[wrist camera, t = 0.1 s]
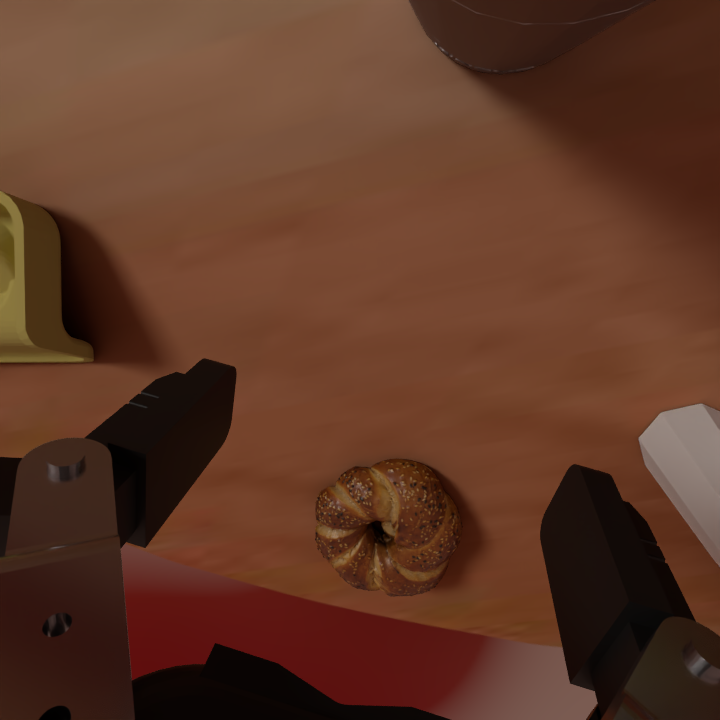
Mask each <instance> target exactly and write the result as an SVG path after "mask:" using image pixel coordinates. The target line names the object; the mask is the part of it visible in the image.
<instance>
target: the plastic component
mask: <svg viewBox="0 0 720 720" xmlns="http://www.w3.org/2000/svg"><path fill="white" fill-rule="evenodd" d="M92 361H94V351H93V348H92V346H91V345H90V344H89V343H87V342H85V341H83V340H79V339H76V338H72V337H70V336H69V335H68V334H67V332H66V330H65V329H64V326H63V322H62V303H61V240H60V233H59V230H58V227H57V224H56V223H55V221H54V220H53V218H52V217H51V216H50V214H49V213H48V212H47V211H45V210H44V209H43V208H41V207H40V206H38V205H36V204H33V203H31V202H28V201H26V200H23V199H20V198H18V197H15V196H13V195H10V194H7V193H5V192H2V191H0V363H80V362H92Z"/></svg>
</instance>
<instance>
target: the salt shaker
mask: <svg viewBox="0 0 720 720" xmlns="http://www.w3.org/2000/svg"><path fill="white" fill-rule="evenodd" d="M638 439H639V443H640V447H641V451H642V455H643V459H644V463H645V466H646V467H647V468H648V470H649V471H650V473H651V474H652V475H653V477H654V478H655V479H656V481H657V482H658V484H659V485H660V486H661V488H662V489H663V491H664V492H665V493H666V495H667V496H668V497H669V499H670V500H671V502H672V503H673V504H674V506H675V507H676V508H677V510H678V511H679V513H680V514H681V515H682V517H683V518H684V520H685V521H686V522H687V524H688V525H689V526H690V528H691V529H692V531H693V532H694V533H695V535H696V536H697V537H698V539H699V540H700V542H701V543H702V544H703V546H704V547H705V549H706V550H707V551H708V553H709V554H710V555H711V557H712V558H713V559H714V561H715V562H716V563H717V564H718V566H719V567H720V411H718V410H716V409H713V408H711V407H709V406H706V405H704V404H696V405H692V406H687V407H683V408H678V409H674V410H669V411H665V412H661V413H660V414H659V415H658V416H657V418H656V419H655V420H654V421H653V422H652V423H651V425H650V426H649V427H648V428H647V429H646V430H645V431H644V433H643V434H642V435H641V436H640V437H639V438H638Z"/></svg>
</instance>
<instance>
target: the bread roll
mask: <svg viewBox="0 0 720 720" xmlns="http://www.w3.org/2000/svg"><path fill="white" fill-rule="evenodd" d="M315 504H316V520H317V522H318V523H319V525H318V526H316V539H315V541H316V544H317V547H318V550H319V551H320V552H321V553H322V554H323V557H325V558H326V559H327V560H328V561H329V562H330V564H331V565H332V567H333V568H335V570H336V571H337V572H338V574H339V575H340V577H342V578H343V579H344V580H345V581H346V582H347V583H349V584H350V585H351V586H353V587H355V588H357V589H363V590H368V591H375V590H380V589H381V590H382V591H384V592H385V593H386V594H387V595H389V596H413V595H416V594H420V593H421V594H423V593H424V592H427V591H430V589H432V588H433V587H435V586H436V585H437V584H438V582H439V581H440V580H441V579H442V577H443V575H444V574H445V571H446V569H447V567H448V563H449V558H450V556H451V555H452V554H453V552H454V550H455V549H456V548H457V546H458V544H459V542H460V538H461V533H462V527H463V526H462V522H461V519H460V514H459V512H458V508H457V507H456V506H455V504H454V502H453V501H452V499H451V497H450V496H449V495H448V494H447V493H445V492H444V490H443V487H442V485H441V483H440V481H439V480H438V478H437V477H436V475H435V474H434V473H433V472H432V471H431V470H430V469H429V468H428V467H426V466H425V465H423V464H420V463H418V462H415V461H411V460H405V459H389V460H385V461H382V462H379V463H377V464H375V465H373V466H372V467H371V468H365V467H353V468H352V469H349V470H347V471H346V472H345V473H343V474H342V475H341V477H340V478H339V480H338V481H337V484H336V486H335V487H333V486H329V487H327V488H326V489H324V490H323V491H321V492H320V493H319V495H318V497H317V501H316V502H315ZM377 520H378V521H380V522H381V526H382V528H383V530H384V533H383V534H380V533H379V532H378V531H377V530H375V529H374V528H373V527H372V524H371V523H372V522H374V521H377Z"/></svg>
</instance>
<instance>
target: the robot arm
mask: <svg viewBox="0 0 720 720" xmlns="http://www.w3.org/2000/svg"><path fill="white" fill-rule="evenodd" d="M653 1H655V0H409V2H410V4H411V6H412V8H413V10H414V12H415V14H416V16H417V18H418V20H419V22H420V23H421V25H422V27H423V29H424V31H425V33H426V34H427V36H428V37H429V38H430V39H431V40H432V41H433V43H434V44H435V45H436V46H437V47H438V48H439V50H440V51H441V52H443V53H444V54H445V55H447V56H448V57H450V58H451V59H452V60H454V61H455V62H457V63H458V64H460V65H463V66H465V67H468V68H470V69H473V70H475V71H478V72H485V73H493V74H507V73H515V72H523V71H526V70H528V69H532V68H534V67H537V66H540V65H543V64H545V63H547V62H549V61H551V60H552V59H554V58H556V57H558V56H559V55H561V54H563V53H565V52H567V51H569V50H571V49H573V48H574V47H576V46H578V45H580V44H581V43H583V42H585V41H586V40H588V39H590V38H592V37H593V36H595V35H597V34H598V33H600V32H602V31H604V30H605V29H607V28H609V27H610V26H612V25H614V24H616V23H617V22H619V21H621V20H622V19H624V18H626V17H628V16H629V15H631V14H633V13H634V12H636V11H638V10H640V9H641V8H643V7H645V6H646V5H648V4H650V3H652V2H653ZM235 384H236V368H235V367H234V366H230V365H227V364H223V363H220V362H216V361H212V360H209V359H202V360H200V361H199V362H198V363H197V364H196V365H195V366H194V367H192V368H191V369H190V370H189V371H188V372H187V373H186V374H182V373H178V372H175V373H172V374H169V375H167V376H164V377H161V378H159V379H156V380H155V381H153V382H152V383H151V384H150V385H149V386H147V387H146V388H145V389H144V390H142V391H141V394H138V395H136V396H135V397H134V398H133V399H131V400H130V401H129V404H125V405H124V406H123V407H122V408H120V409H119V410H118V411H117V412H116V413H114V414H113V415H112V416H111V417H109V418H108V419H107V420H106V421H105V422H103V423H102V424H101V425H100V426H98V427H97V428H96V429H95V430H93V431H92V432H91V433H90V434H89V435H87V436H86V437H85V438H64V439H58V440H54V441H50V442H48V443H45V444H42V445H40V446H38V447H36V448H35V449H33V450H31V451H30V452H29V453H27V454H26V455H25V456H24V457H23V458H9V457H0V720H450V719H447V718H444V717H441V716H438V715H435V714H432V713H429V712H426V711H422V710H419V709H416V708H413V707H395V706H364V705H344V704H340V703H337V702H335V701H334V700H332V699H331V698H329V697H328V696H326V695H325V694H323V693H322V692H320V691H318V690H317V689H316V688H314V687H313V686H311V685H310V684H308V683H307V682H305V681H303V680H302V679H301V678H299V677H297V676H296V675H294V674H293V673H291V672H290V671H288V670H287V669H285V668H284V667H282V666H281V665H279V664H278V663H275V662H272V661H269V660H265V659H263V658H260V657H256V656H253V655H250V654H247V653H244V652H241V651H238V650H235V649H232V648H229V647H225V646H222V645H220V644H216V643H215V645H214V647H213V649H212V651H211V653H210V655H209V657H208V659H207V661H206V664H192V665H182V666H175V667H171V668H166V669H162V670H158V671H155V672H152V673H149V674H146V675H143V676H141V677H138V678H136V679H134V680H132V678H131V666H130V654H129V644H128V643H129V642H128V630H127V618H126V606H125V595H124V583H123V571H122V560H121V548H122V546H123V545H124V544H125V543H126V542H128V543H131V544H134V545H138V546H141V547H144V548H146V546H147V545H148V544H149V542H150V541H151V540H152V538H153V537H154V536H155V534H156V533H157V532H158V530H159V529H160V528H161V526H162V525H163V524H164V522H165V521H166V520H167V518H168V517H169V516H170V514H171V513H172V512H173V510H174V509H175V508H176V506H177V505H178V504H179V502H180V501H181V500H182V498H183V497H184V496H185V494H186V493H187V492H188V490H189V489H190V488H191V486H192V485H193V484H194V482H195V481H196V480H197V478H198V477H199V476H200V474H201V473H202V472H203V470H204V469H205V468H206V466H207V465H208V464H209V462H210V461H211V460H212V458H213V457H214V456H215V454H216V453H217V452H218V450H219V449H220V448H221V446H222V445H223V443H224V442H225V440H226V437H227V435H228V432H229V429H230V426H231V420H232V412H233V403H234V393H235ZM540 540H541V545H542V550H543V555H544V560H545V564H546V569H547V574H548V579H549V584H550V589H551V593H552V598H553V603H554V608H555V613H556V618H557V622H558V627H559V632H560V637H561V642H562V647H563V651H564V656H565V661H566V666H567V670H568V676H569V680H570V683H571V684H574V685H577V686H580V687H583V688H586V689H589V690H593V691H595V693H596V698H597V702H598V704H597V705H596V706H595V708H594V709H593V710H592V711H591V713H590V714H589V716H588V717H587V719H586V720H720V636H719V635H717V634H716V633H715V632H713V631H712V630H710V629H709V628H707V627H705V626H703V625H702V624H700V623H697V622H696V621H695V619H694V617H693V615H692V613H691V611H690V609H689V606H688V604H687V602H686V600H685V598H684V596H683V594H682V592H681V590H680V588H679V586H678V584H677V582H676V580H675V578H674V576H673V574H672V572H671V570H670V568H669V566H668V564H667V563H665V558H664V556H663V554H662V551H661V549H660V547H659V546H657V545H656V544H657V541H656V539H655V537H654V535H653V533H652V531H651V529H650V527H649V525H648V523H647V522H646V521H645V519H644V518H643V517H642V516H641V515H640V514H639V513H638V512H637V511H636V509H635V508H634V507H633V506H632V505H631V504H630V503H629V502H625V501H623V500H622V498H621V496H620V493H619V491H618V489H617V487H616V485H615V482H614V480H613V478H612V476H611V475H610V474H608V473H605V472H601V471H598V470H594V469H591V468H587V467H584V466H580V465H576V464H574V465H572V466H571V467H570V468H569V469H568V470H567V472H566V474H565V476H564V478H563V479H562V481H561V483H560V485H559V487H558V489H557V491H556V493H555V495H554V497H553V498H552V500H551V502H550V504H549V506H548V508H547V510H546V512H545V514H544V516H543V520H542V524H541V530H540Z"/></svg>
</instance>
